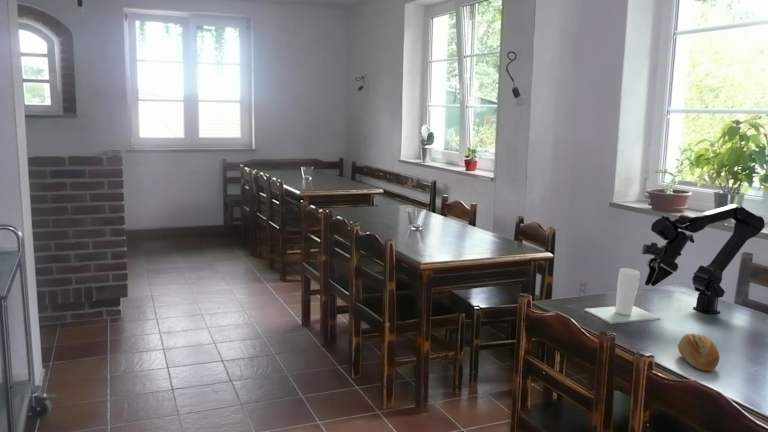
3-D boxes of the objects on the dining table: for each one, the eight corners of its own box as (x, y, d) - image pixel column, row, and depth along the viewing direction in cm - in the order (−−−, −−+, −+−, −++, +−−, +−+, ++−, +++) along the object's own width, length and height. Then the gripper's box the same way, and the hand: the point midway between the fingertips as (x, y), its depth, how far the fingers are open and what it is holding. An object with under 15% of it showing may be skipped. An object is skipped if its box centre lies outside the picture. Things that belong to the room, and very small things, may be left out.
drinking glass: (636, 313, 223) (643, 271, 220) (630, 318, 218) (637, 275, 214) (616, 308, 227) (623, 266, 224) (609, 312, 222) (616, 270, 218)
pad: (631, 306, 232) (631, 305, 232) (660, 319, 219) (660, 317, 219) (584, 310, 226) (584, 308, 226) (610, 323, 213) (610, 322, 213)
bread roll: (688, 373, 175) (692, 345, 174) (669, 352, 190) (672, 326, 188) (725, 375, 174) (729, 347, 173) (703, 354, 189) (707, 328, 188)
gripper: (646, 235, 234) (622, 272, 234) (658, 232, 215) (633, 272, 216) (674, 252, 231) (650, 289, 232) (689, 251, 213) (663, 291, 213)
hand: (648, 285), depth 223 cm, fingers open, 9 cm apart
